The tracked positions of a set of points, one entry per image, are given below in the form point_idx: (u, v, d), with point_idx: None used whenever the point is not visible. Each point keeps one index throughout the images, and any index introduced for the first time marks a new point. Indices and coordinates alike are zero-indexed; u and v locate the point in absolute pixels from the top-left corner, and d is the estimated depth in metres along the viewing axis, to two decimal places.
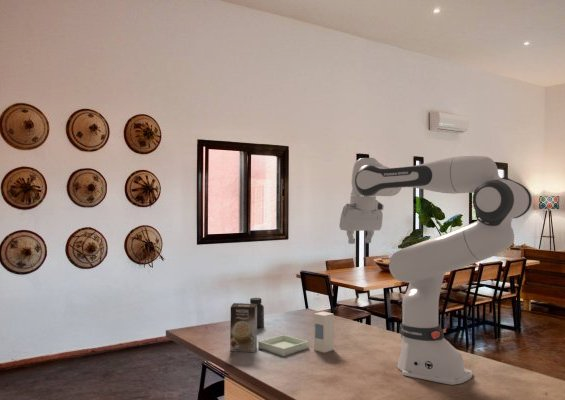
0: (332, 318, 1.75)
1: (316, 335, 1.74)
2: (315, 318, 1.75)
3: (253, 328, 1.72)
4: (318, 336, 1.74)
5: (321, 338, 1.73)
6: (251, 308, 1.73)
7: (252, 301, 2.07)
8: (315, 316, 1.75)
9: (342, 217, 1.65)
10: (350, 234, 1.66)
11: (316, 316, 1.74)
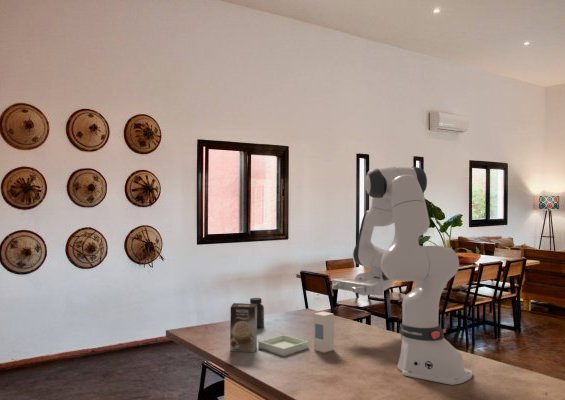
0: (332, 318, 1.75)
1: (316, 335, 1.74)
2: (315, 318, 1.75)
3: (253, 328, 1.72)
4: (318, 336, 1.74)
5: (321, 338, 1.73)
6: (251, 308, 1.73)
7: (252, 301, 2.07)
8: (315, 316, 1.75)
9: None
10: None
11: (316, 316, 1.74)
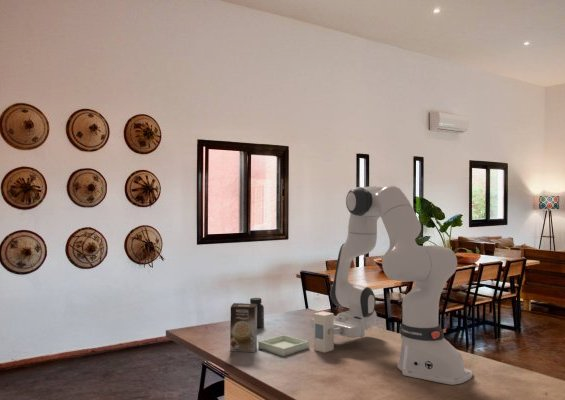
0: (332, 318, 1.75)
1: (316, 335, 1.74)
2: (315, 318, 1.75)
3: (253, 328, 1.72)
4: (318, 336, 1.74)
5: (321, 338, 1.73)
6: (251, 308, 1.73)
7: (252, 301, 2.07)
8: (315, 316, 1.75)
9: None
10: None
11: (316, 316, 1.74)
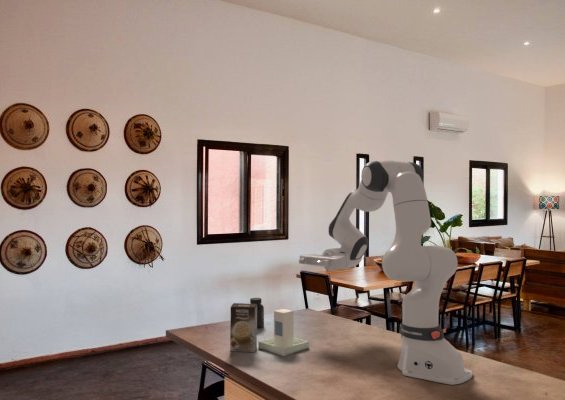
0: (292, 315, 1.77)
1: (276, 332, 1.76)
2: (275, 315, 1.77)
3: (253, 328, 1.72)
4: (278, 333, 1.75)
5: (280, 335, 1.74)
6: (251, 308, 1.73)
7: (252, 301, 2.07)
8: (275, 313, 1.77)
9: None
10: None
11: (276, 313, 1.76)
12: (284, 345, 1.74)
